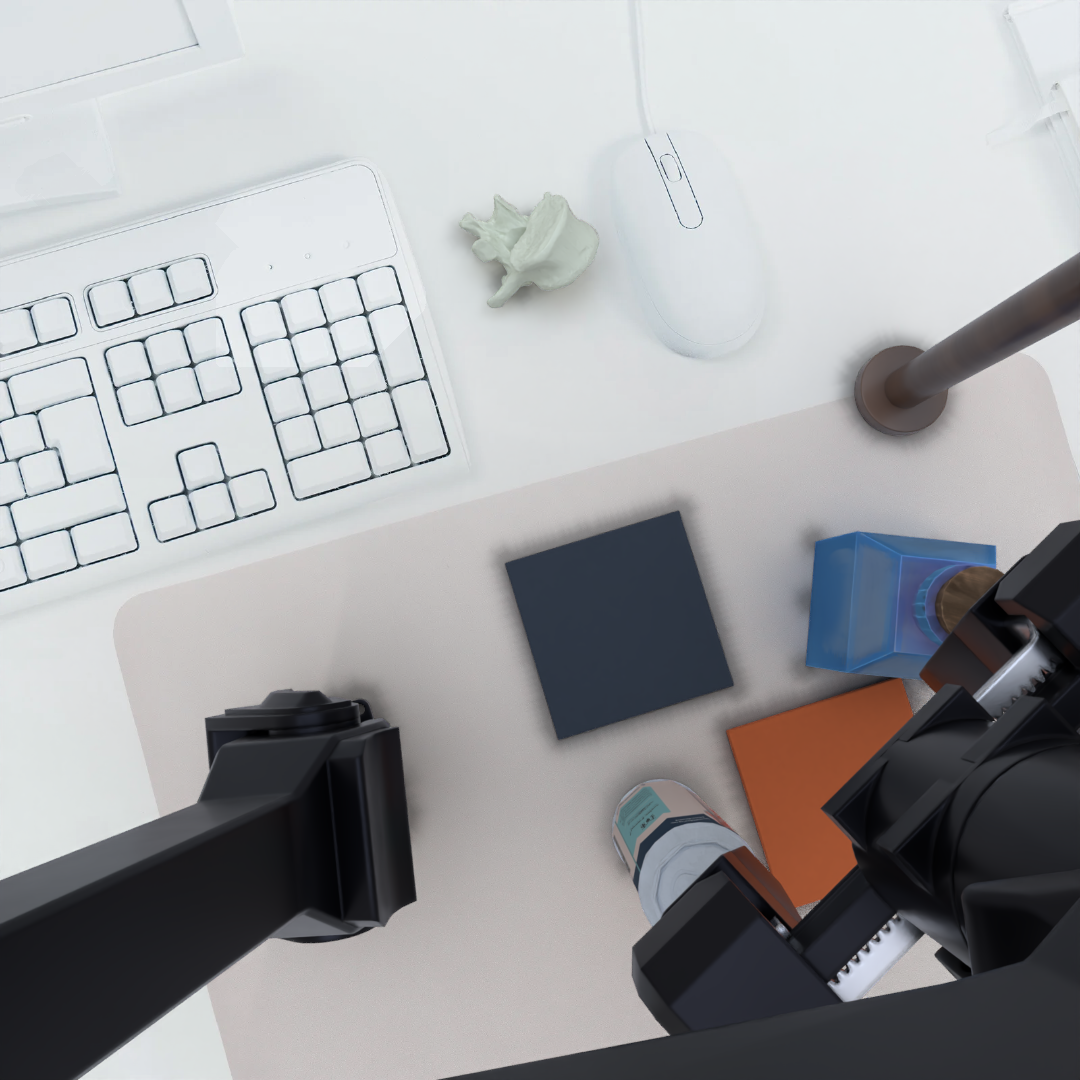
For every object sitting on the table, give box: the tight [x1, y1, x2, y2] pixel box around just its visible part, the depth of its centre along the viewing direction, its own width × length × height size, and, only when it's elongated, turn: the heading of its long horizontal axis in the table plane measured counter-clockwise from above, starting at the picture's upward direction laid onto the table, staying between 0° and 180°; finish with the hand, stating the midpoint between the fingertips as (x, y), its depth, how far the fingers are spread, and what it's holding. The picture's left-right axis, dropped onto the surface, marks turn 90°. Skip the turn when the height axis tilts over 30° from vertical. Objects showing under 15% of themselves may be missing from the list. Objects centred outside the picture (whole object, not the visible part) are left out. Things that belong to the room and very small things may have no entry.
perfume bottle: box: [805, 530, 1005, 681], centre depth 45 cm, size 6×6×12 cm
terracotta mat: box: [725, 677, 915, 909], centre depth 50 cm, size 9×9×1 cm
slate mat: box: [504, 510, 735, 741], centre depth 50 cm, size 9×9×1 cm
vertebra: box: [458, 191, 600, 309], centre depth 50 cm, size 6×7×4 cm
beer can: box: [611, 778, 757, 928], centre depth 44 cm, size 5×5×12 cm
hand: (842, 770), depth 37 cm, fingers open, 9 cm apart
